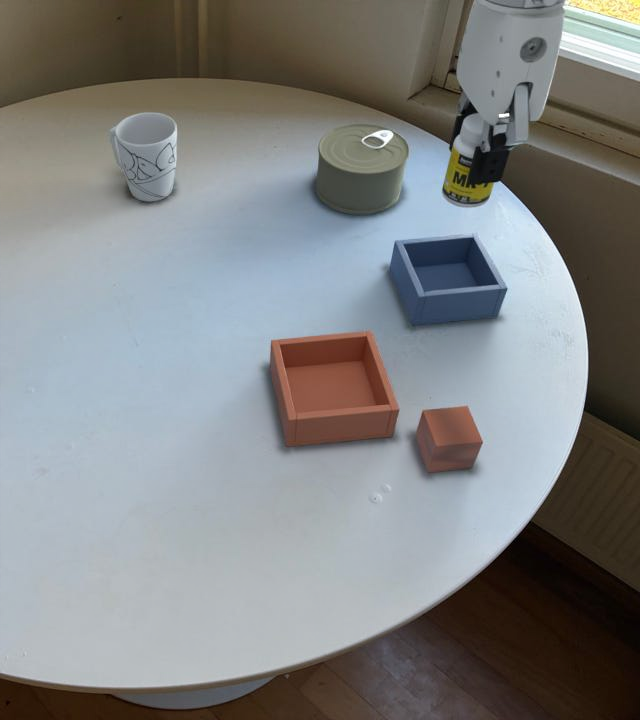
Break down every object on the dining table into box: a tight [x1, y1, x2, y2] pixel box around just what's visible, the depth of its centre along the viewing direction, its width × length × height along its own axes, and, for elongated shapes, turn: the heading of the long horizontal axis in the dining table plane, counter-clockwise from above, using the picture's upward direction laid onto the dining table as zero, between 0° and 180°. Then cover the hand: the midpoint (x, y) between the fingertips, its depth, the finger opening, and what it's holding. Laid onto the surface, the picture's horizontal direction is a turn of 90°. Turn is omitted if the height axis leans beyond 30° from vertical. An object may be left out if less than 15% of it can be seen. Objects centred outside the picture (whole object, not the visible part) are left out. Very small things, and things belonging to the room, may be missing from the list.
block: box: [414, 405, 484, 473], centre depth 76 cm, size 4×4×4 cm
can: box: [315, 123, 411, 216], centre depth 106 cm, size 12×12×7 cm
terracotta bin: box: [269, 330, 401, 448], centre depth 82 cm, size 11×11×5 cm
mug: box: [108, 111, 178, 203], centre depth 109 cm, size 11×8×10 cm
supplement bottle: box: [441, 113, 507, 209], centre depth 77 cm, size 5×5×8 cm
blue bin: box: [389, 232, 509, 326], centre depth 92 cm, size 10×10×5 cm
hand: (474, 164), depth 77 cm, fingers closed on supplement bottle, 4 cm apart
